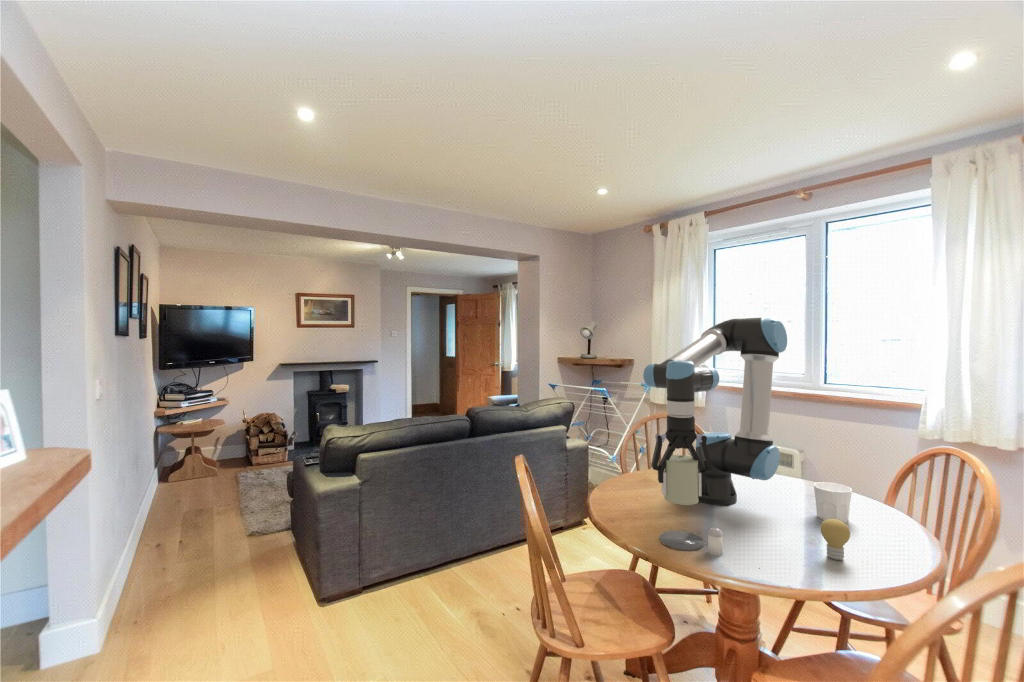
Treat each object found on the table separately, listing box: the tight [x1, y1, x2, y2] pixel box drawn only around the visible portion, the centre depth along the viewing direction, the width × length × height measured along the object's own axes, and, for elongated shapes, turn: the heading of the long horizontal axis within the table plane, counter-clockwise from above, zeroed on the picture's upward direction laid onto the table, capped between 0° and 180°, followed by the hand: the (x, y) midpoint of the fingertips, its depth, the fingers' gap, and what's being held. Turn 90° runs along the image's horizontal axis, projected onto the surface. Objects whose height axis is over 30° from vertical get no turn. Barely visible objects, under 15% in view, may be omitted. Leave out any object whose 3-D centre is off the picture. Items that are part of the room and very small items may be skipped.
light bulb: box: [820, 519, 851, 561], centre depth 124 cm, size 6×6×10 cm
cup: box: [813, 481, 853, 524], centre depth 150 cm, size 10×10×10 cm
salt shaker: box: [707, 527, 724, 557], centre depth 127 cm, size 4×4×7 cm
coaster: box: [659, 530, 705, 552], centre depth 135 cm, size 12×12×1 cm
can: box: [663, 454, 700, 506], centre depth 135 cm, size 9×9×12 cm
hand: (681, 494), depth 135 cm, fingers closed on can, 9 cm apart
